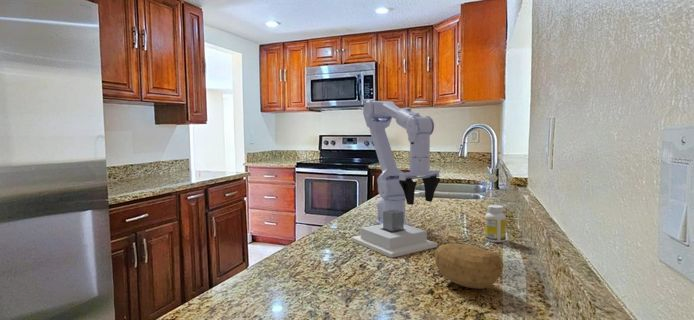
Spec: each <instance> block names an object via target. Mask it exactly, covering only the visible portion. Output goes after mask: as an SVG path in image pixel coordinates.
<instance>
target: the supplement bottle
mask: <svg viewBox="0 0 694 320" xmlns="http://www.w3.org/2000/svg"><path fill="white" fill-rule="evenodd" d="M487 211H488V212H487V213H486V214H485V217H484V218H485V219H484V220H485V221H484V223H485V231H484V232H485V234H484V237H485V240H486V241H488V242H490V243H504V242H505V241H506V240H507V237H506V236H507V235H506V234H507V233H506V231H507V230H506V229H507V226H506V225H507V224H506V223H507V216H506V215H505V214H504V206H503V205H499V204H490V205H488V206H487Z"/></svg>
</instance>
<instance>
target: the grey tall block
mask: <svg viewBox="0 0 694 320" xmlns="http://www.w3.org/2000/svg"><path fill="white" fill-rule="evenodd" d="M383 230H384V231H387V232H390V233H395V232H400V231H404V212H401V211H398V210H389V211H383Z"/></svg>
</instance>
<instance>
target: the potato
mask: <svg viewBox="0 0 694 320" xmlns="http://www.w3.org/2000/svg"><path fill="white" fill-rule="evenodd" d="M434 251H435V252H434V255H433V256H434V260H435V264H436V268H437V269H438V271H439V272H440V274H441V275H442V276H443V278H445V279H446V280H448V281H449V282H451V283H454V284H457V285H459V286H462V287H464V288H468V289H478V290H482V289H487V288H489V287H491V286H493V285H494V284H495V283H496V282H497V281H498V279H499V277H500V276H501V275H502V272H503V269H504V262H503V259H502V258H501V257H500V256H499V254H497V253H495V252H494V251H492V250H488V249H484V248H482V247H478V246H476V245H472V244H461V243H456V242H455V243H454V242H453V243H451V242H450V243H446V244H442V245H439V246H437V247H436V249H435V250H434Z"/></svg>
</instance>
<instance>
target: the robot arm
mask: <svg viewBox="0 0 694 320" xmlns="http://www.w3.org/2000/svg"><path fill="white" fill-rule="evenodd" d="M362 112H363V113H362V114H363V117H364V121H365V124H366V127H367V128H369V133H370V135H371V139H372V142H373V143H372V144H373V146H374V149H375V152H376V156H377V160H378V162H379V166H380V170H381V172H382V173H380V175H379V176H378V177H377V179H376V182H377V190H378V191H377V192H378V194H379V196H380V199H379V200H378V202H377V220H376V221H375V224H377V225H380V224H383V211H389V210H398V211H401V212H404V224H405V225H409V226H412V223H409V222H406V204H407V205H414V204H415V203H414V202H415V191H416V186H417V183H418V182H417V181H415V180H419V179H421V180H422V182H423V187H424V199H425V202H429V203H431V202H433V199H434V195H435V191H436V190H437V188H438V185H439V183H440V181H441V178H440V170H437V169H436V170H431V169H430V162H431V161H430V158H431V157H430V156H431V153H430V151H431V150H430V149H431V146H430V145H431V139H430V137H431V135H432V134H433V132H434V129H435V122H434V120H433V118H432V117H431V116H430V115H429V116H428V115H425V116H422V115H420V113H419V112H415V111H413V110H412V108H411V107H405V108H401V107H398V106H397V105H396V104H395V102H394V101H392V100H371V99H368V100H366V101H365V103H364V104H363V110H362ZM392 119H395V122H396V124H397V125H398V126H400V127H401V128H403V129H405V131H406V134H407V137H408V138H407V140H408V142H409V171H406V172H404V171H402V170H400V169H399V168H398V166H397V163H396V160H395V157H394V154H393V150H392V148H391V145H390V141H389V139H388V135H387V132H386V128H389V127H390V124H391V122H392Z"/></svg>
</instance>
